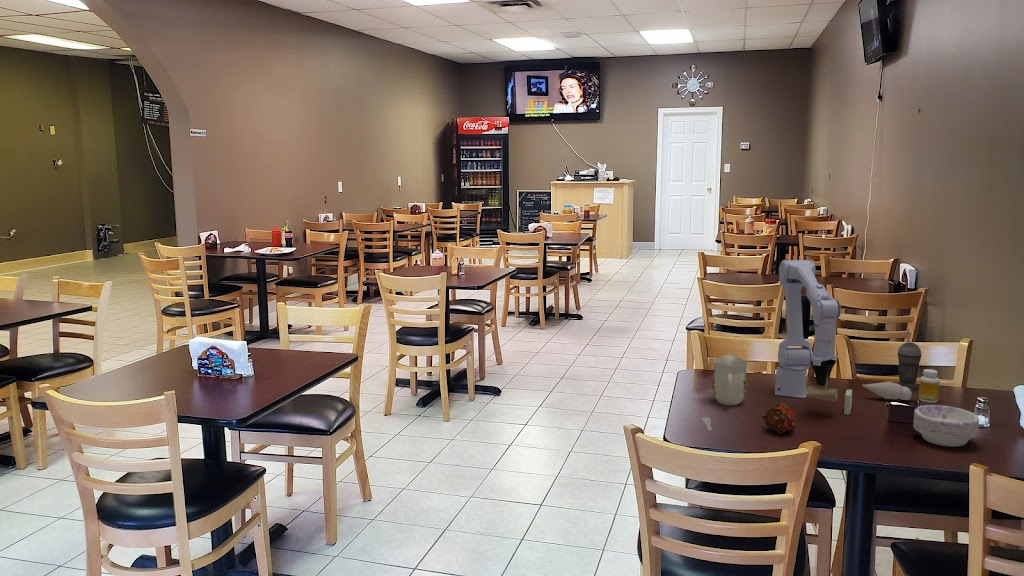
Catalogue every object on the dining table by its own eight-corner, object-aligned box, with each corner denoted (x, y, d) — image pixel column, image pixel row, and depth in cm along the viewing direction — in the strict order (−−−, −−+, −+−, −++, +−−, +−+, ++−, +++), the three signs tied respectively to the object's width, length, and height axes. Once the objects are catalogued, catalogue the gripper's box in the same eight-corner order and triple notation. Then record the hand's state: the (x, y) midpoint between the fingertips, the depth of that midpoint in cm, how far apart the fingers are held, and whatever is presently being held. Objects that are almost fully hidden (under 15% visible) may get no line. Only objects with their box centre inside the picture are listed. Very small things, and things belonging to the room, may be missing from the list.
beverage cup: (909, 392, 252) (914, 332, 249) (890, 386, 258) (894, 328, 256) (924, 389, 255) (928, 330, 252) (904, 383, 262) (908, 326, 259)
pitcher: (710, 410, 235) (711, 366, 233) (711, 394, 252) (712, 353, 250) (747, 413, 232) (749, 368, 230) (746, 396, 249) (748, 355, 247)
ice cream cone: (857, 397, 246) (907, 407, 243) (863, 390, 241) (914, 400, 238) (858, 380, 249) (908, 390, 246) (864, 372, 244) (915, 382, 241)
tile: (844, 414, 230) (845, 395, 229) (845, 408, 236) (846, 389, 235) (849, 415, 229) (850, 395, 228) (851, 408, 235) (852, 389, 234)
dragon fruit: (780, 443, 210) (773, 435, 221) (806, 427, 208) (799, 419, 220) (761, 417, 211) (756, 411, 222) (787, 400, 209) (781, 395, 221)
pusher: (834, 401, 225) (835, 371, 224) (806, 397, 230) (807, 367, 229) (837, 399, 228) (838, 369, 226) (809, 394, 232) (810, 365, 231)
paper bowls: (950, 455, 196) (953, 425, 195) (899, 436, 210) (901, 408, 209) (990, 446, 202) (993, 417, 201) (938, 429, 216) (940, 401, 215)
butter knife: (710, 417, 228) (700, 417, 228) (722, 445, 204) (711, 445, 204) (710, 418, 228) (700, 418, 228) (722, 447, 204) (711, 446, 204)
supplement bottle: (937, 403, 239) (940, 373, 238) (918, 401, 242) (920, 371, 240) (938, 399, 244) (940, 369, 242) (919, 397, 246) (921, 367, 245)
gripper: (831, 346, 218) (829, 392, 220) (845, 337, 229) (843, 381, 232) (806, 342, 222) (804, 388, 224) (821, 334, 234) (818, 377, 236)
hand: (822, 384), depth 228 cm, fingers closed on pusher, 2 cm apart
